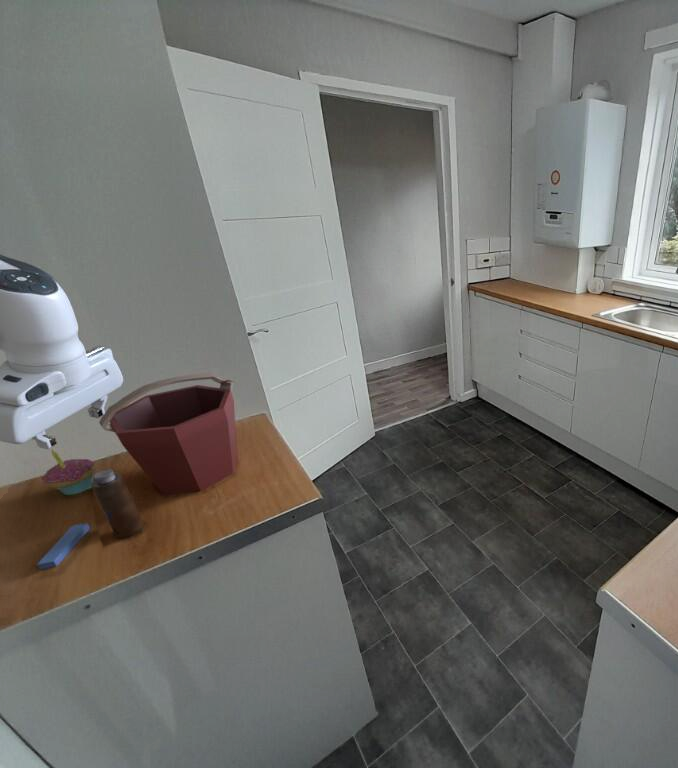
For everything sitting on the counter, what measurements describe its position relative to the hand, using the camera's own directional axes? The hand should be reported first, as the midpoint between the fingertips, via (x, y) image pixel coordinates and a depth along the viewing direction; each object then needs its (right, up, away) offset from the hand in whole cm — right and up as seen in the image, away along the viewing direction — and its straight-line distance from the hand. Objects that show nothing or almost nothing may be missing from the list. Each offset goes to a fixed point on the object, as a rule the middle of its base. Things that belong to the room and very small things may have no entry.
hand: (74, 429), depth 76 cm
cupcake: (-19, -16, +18) cm, 31 cm away
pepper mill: (+4, -21, +7) cm, 23 cm away
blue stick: (-3, -23, +2) cm, 24 cm away
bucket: (+5, -14, +24) cm, 28 cm away
